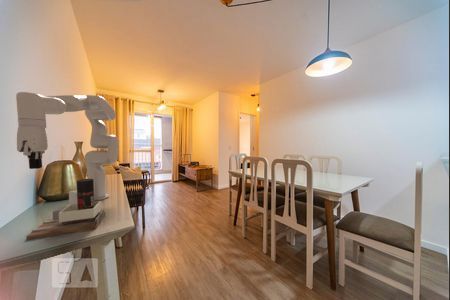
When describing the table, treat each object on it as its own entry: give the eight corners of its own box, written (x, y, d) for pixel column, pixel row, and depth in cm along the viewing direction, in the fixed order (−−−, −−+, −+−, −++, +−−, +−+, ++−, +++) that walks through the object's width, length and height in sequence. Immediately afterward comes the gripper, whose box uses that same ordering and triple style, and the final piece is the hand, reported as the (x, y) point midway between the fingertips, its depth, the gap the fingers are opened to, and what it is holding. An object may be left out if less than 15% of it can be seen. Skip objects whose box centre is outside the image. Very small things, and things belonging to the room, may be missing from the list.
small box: (77, 211, 89) (76, 192, 89) (69, 210, 90) (68, 191, 90) (92, 206, 97) (91, 188, 96) (84, 205, 98) (83, 187, 98)
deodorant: (81, 210, 78) (79, 179, 78) (96, 208, 81) (95, 178, 80) (75, 215, 73) (73, 182, 72) (91, 213, 75) (90, 181, 74)
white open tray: (62, 217, 77) (62, 205, 77) (101, 212, 83) (101, 200, 83) (49, 228, 68) (49, 214, 68) (94, 221, 74) (93, 208, 73)
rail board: (48, 222, 77) (48, 215, 77) (105, 215, 85) (104, 208, 85) (26, 239, 64) (25, 231, 64) (95, 229, 72) (95, 221, 72)
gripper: (32, 124, 74) (35, 165, 75) (4, 122, 60) (8, 172, 61) (55, 125, 76) (57, 165, 78) (32, 123, 63) (36, 171, 64)
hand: (35, 168), depth 70 cm, fingers closed
